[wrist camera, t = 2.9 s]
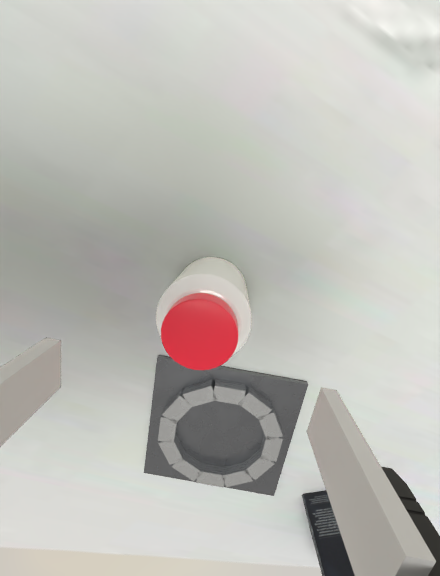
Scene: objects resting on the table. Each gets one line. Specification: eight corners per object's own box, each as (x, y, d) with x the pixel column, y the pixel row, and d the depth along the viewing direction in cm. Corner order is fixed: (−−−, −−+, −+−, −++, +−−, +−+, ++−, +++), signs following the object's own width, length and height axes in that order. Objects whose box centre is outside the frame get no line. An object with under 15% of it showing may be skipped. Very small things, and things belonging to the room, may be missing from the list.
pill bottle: (196, 333, 30) (176, 398, 20) (164, 274, 29) (124, 310, 18) (257, 308, 29) (272, 361, 18) (228, 244, 27) (226, 263, 17)
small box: (359, 539, 38) (404, 657, 28) (314, 545, 39) (342, 661, 29) (348, 486, 35) (394, 594, 25) (300, 493, 36) (326, 601, 26)
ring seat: (158, 355, 31) (154, 363, 29) (306, 381, 31) (310, 391, 29) (145, 468, 36) (141, 481, 34) (273, 491, 36) (275, 505, 34)
